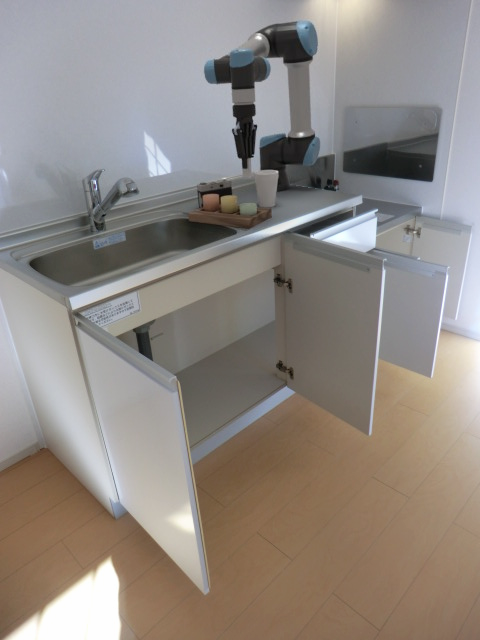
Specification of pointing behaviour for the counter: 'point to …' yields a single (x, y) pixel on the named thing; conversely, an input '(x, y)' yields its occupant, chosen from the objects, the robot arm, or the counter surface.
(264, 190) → the foam cup
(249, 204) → the pale green cylinder
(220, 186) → the camera
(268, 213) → the walnut board
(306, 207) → the counter surface
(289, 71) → the robot arm
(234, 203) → the yellow short cylinder
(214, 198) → the pink short cylinder
